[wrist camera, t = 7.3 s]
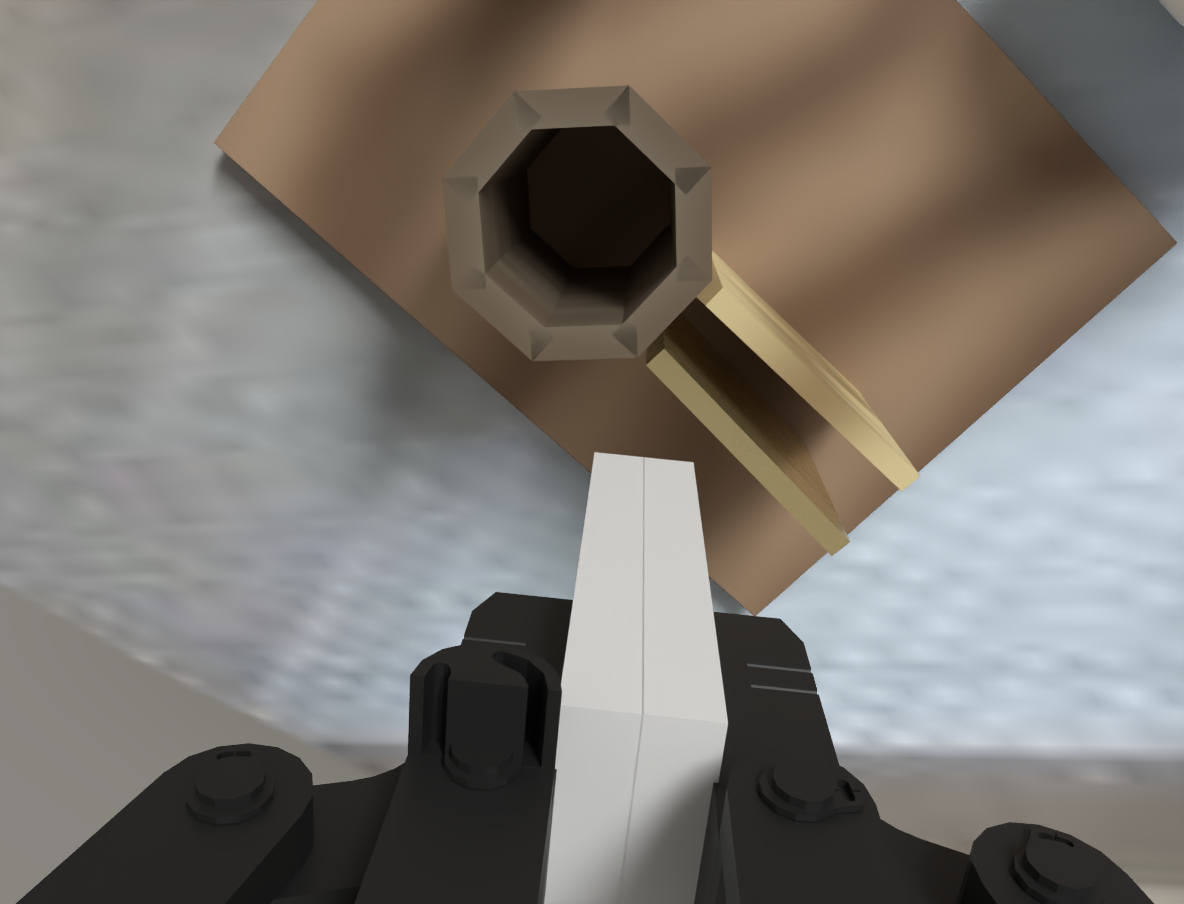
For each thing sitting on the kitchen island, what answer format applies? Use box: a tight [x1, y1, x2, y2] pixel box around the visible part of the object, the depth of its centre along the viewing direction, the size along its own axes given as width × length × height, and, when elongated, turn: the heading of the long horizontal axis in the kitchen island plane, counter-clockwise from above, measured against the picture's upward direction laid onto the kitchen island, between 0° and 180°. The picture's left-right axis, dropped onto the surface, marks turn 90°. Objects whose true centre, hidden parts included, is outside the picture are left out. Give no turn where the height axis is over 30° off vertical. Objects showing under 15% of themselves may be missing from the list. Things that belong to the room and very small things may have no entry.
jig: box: [214, 0, 1177, 616], centre depth 27 cm, size 24×18×10 cm
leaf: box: [646, 313, 850, 556], centre depth 28 cm, size 7×1×8 cm, turn 44°
